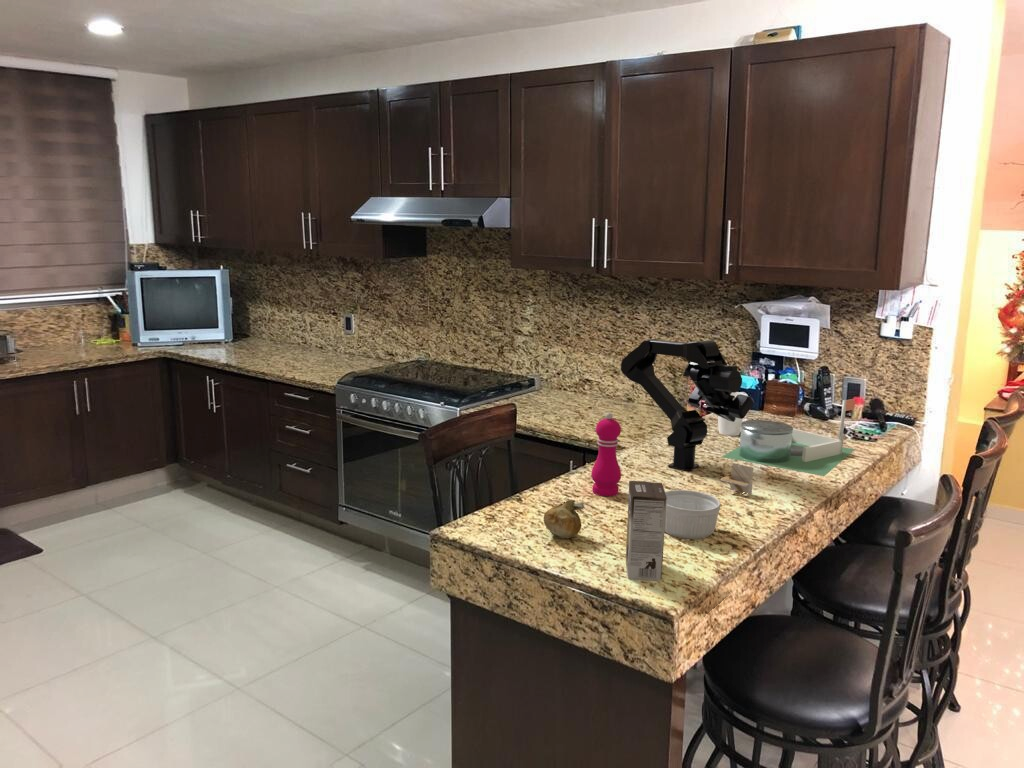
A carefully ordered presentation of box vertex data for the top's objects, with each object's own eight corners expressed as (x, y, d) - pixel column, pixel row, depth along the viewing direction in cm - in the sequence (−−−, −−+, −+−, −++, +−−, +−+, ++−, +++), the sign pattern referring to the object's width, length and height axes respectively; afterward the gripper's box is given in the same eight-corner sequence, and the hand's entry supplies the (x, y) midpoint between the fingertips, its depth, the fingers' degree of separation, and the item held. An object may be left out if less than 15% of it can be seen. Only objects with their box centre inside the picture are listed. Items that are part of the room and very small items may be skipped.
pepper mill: (603, 485, 199) (606, 408, 195) (626, 492, 194) (630, 413, 190) (584, 491, 194) (587, 412, 190) (607, 499, 189) (611, 417, 185)
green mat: (824, 476, 211) (824, 476, 211) (721, 457, 227) (721, 456, 227) (855, 449, 239) (855, 449, 239) (761, 434, 255) (761, 433, 255)
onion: (550, 527, 170) (551, 491, 169) (586, 533, 167) (587, 497, 166) (537, 539, 163) (538, 502, 162) (574, 545, 160) (576, 508, 159)
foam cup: (747, 437, 251) (750, 397, 248) (718, 437, 251) (721, 396, 248) (739, 430, 260) (742, 391, 258) (711, 429, 260) (714, 390, 258)
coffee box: (624, 559, 154) (628, 479, 151) (657, 561, 154) (662, 481, 151) (626, 579, 145) (631, 495, 142) (662, 581, 145) (667, 497, 142)
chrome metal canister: (781, 466, 219) (784, 434, 218) (731, 456, 227) (733, 426, 226) (796, 455, 231) (799, 425, 229) (748, 446, 239) (750, 417, 237)
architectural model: (745, 499, 193) (747, 470, 191) (719, 493, 197) (721, 464, 196) (751, 496, 195) (754, 467, 194) (725, 490, 200) (728, 461, 198)
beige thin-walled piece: (804, 462, 224) (810, 406, 221) (747, 446, 240) (752, 394, 237) (850, 451, 236) (856, 399, 233) (793, 437, 252) (798, 387, 249)
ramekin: (730, 539, 166) (732, 507, 165) (673, 544, 162) (675, 512, 161) (698, 517, 179) (700, 487, 177) (645, 522, 175) (646, 491, 174)
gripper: (752, 366, 205) (776, 404, 213) (697, 356, 220) (722, 392, 228) (729, 399, 202) (754, 436, 210) (676, 387, 217) (701, 421, 225)
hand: (732, 420), depth 218 cm, fingers closed
